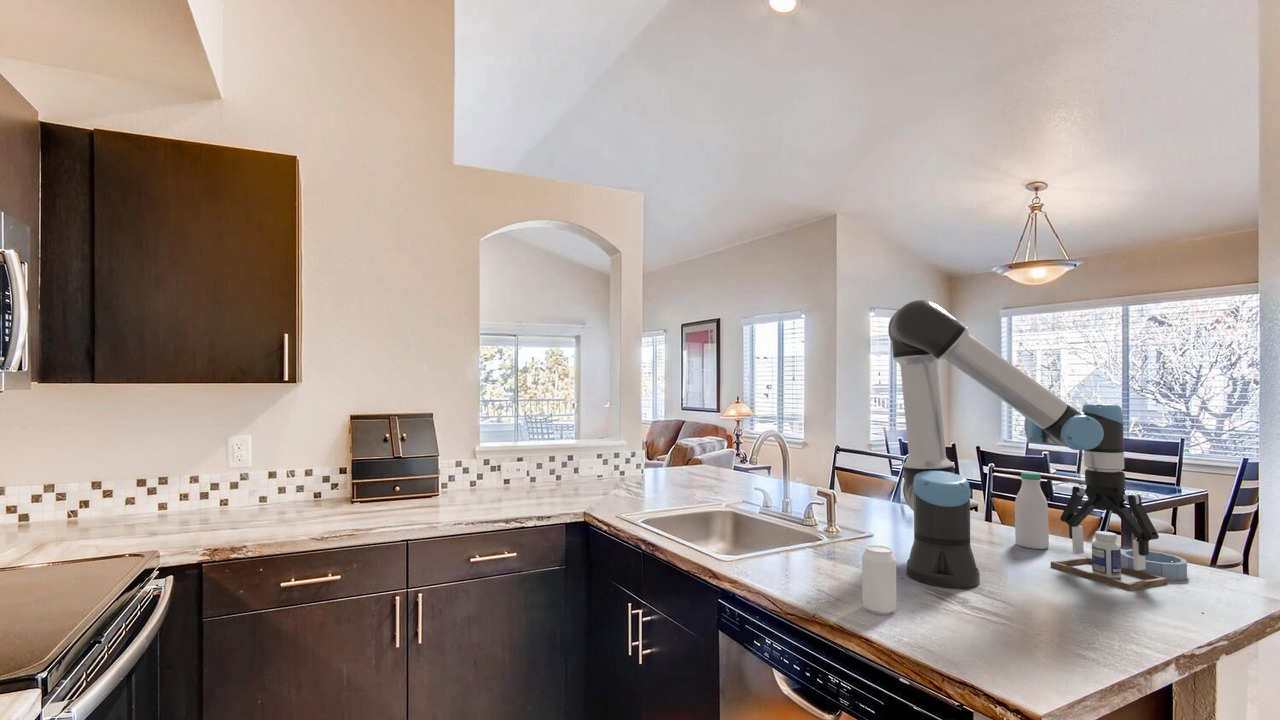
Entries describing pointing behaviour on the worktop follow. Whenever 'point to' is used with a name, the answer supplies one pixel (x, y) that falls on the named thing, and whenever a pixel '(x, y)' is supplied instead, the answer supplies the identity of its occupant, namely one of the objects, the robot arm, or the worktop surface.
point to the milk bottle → (1031, 513)
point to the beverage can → (879, 580)
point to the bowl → (1158, 564)
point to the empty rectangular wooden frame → (1151, 581)
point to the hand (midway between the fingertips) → (1107, 561)
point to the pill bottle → (1106, 555)
